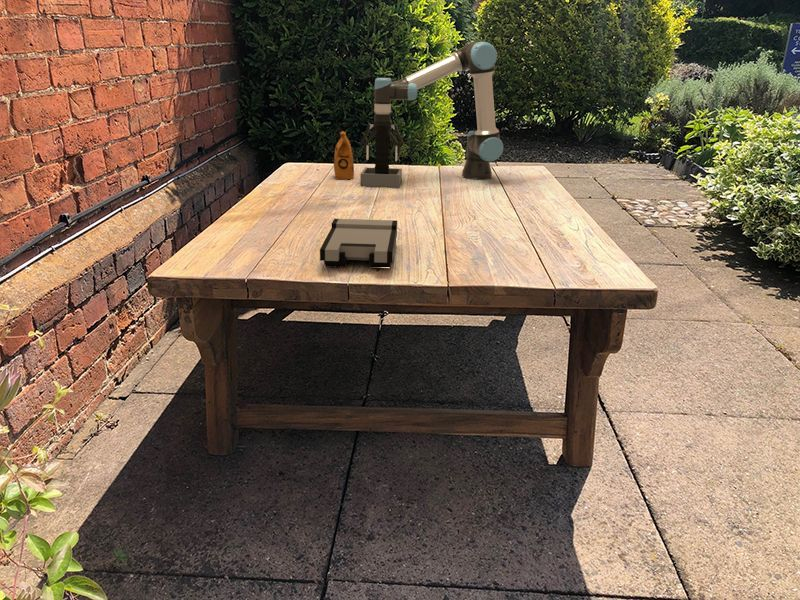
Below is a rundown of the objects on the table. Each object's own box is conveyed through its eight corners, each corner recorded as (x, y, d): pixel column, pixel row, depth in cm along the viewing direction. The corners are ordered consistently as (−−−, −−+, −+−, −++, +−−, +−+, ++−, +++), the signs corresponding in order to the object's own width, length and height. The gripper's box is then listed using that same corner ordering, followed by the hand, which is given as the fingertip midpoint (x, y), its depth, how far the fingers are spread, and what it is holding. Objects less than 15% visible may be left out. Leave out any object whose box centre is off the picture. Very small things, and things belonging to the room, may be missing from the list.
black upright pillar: (387, 179, 328) (367, 180, 324) (388, 123, 318) (368, 123, 314) (395, 182, 319) (376, 184, 315) (396, 125, 310) (376, 125, 306)
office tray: (320, 272, 195) (319, 245, 192) (334, 242, 225) (334, 218, 222) (392, 275, 194) (392, 247, 192) (396, 244, 224) (397, 220, 222)
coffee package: (332, 180, 328) (332, 133, 320) (334, 175, 340) (333, 130, 332) (353, 180, 328) (353, 134, 321) (354, 175, 340) (354, 131, 332)
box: (401, 181, 329) (402, 168, 327) (399, 188, 313) (399, 175, 311) (365, 179, 331) (365, 167, 328) (360, 186, 314) (360, 173, 312)
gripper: (410, 113, 313) (408, 159, 320) (356, 111, 315) (356, 157, 322) (409, 114, 306) (407, 162, 313) (354, 113, 307) (354, 160, 315)
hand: (381, 160), depth 318 cm, fingers open, 13 cm apart
